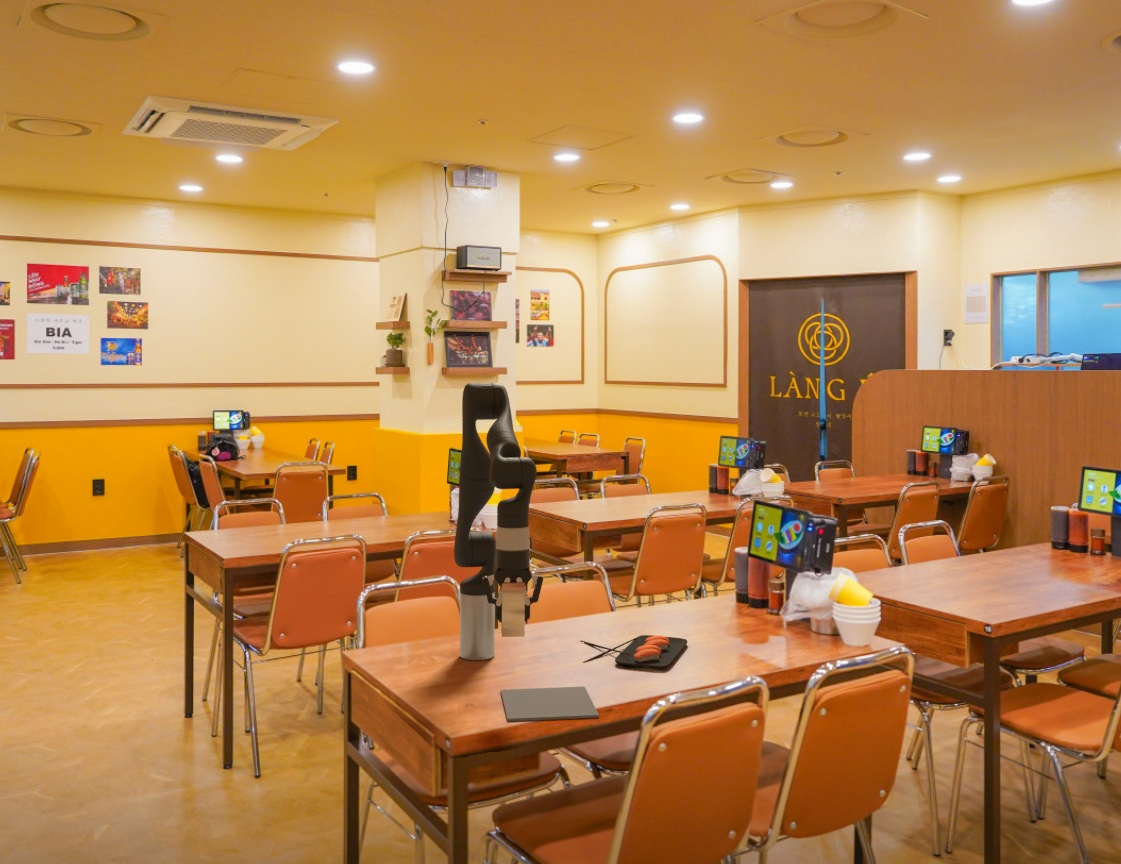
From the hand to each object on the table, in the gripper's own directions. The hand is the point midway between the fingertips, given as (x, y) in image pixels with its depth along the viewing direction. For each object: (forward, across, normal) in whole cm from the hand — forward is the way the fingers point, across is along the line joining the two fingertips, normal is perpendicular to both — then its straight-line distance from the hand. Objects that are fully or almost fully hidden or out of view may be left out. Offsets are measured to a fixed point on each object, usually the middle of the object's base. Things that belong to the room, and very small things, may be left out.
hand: (512, 621), depth 220 cm
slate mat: (+19, -8, 0) cm, 21 cm away
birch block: (+3, 0, 0) cm, 3 cm away
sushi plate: (+20, -33, -41) cm, 56 cm away
